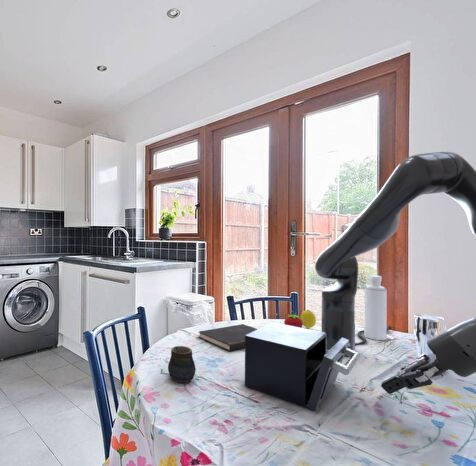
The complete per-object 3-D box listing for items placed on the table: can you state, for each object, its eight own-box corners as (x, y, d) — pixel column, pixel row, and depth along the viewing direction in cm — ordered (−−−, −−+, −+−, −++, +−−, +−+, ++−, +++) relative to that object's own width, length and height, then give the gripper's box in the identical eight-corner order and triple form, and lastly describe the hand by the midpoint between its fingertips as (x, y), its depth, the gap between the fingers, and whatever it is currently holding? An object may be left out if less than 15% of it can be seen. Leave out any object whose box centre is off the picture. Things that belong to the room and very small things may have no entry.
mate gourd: (197, 375, 86) (197, 339, 86) (193, 388, 79) (193, 348, 79) (170, 371, 89) (171, 336, 89) (165, 383, 82) (165, 345, 82)
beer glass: (406, 363, 96) (406, 314, 96) (427, 363, 96) (427, 313, 96) (430, 373, 89) (430, 320, 89) (453, 373, 89) (453, 320, 89)
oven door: (348, 391, 80) (364, 346, 78) (331, 421, 67) (349, 368, 65) (327, 380, 83) (342, 337, 81) (306, 407, 70) (323, 355, 68)
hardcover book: (198, 337, 118) (198, 331, 118) (242, 329, 129) (242, 324, 129) (230, 351, 104) (230, 344, 104) (277, 341, 114) (277, 335, 114)
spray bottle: (368, 339, 118) (369, 272, 118) (361, 333, 124) (361, 270, 124) (390, 341, 116) (390, 273, 116) (381, 335, 122) (381, 271, 122)
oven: (326, 381, 83) (326, 332, 83) (305, 408, 71) (305, 350, 71) (271, 365, 93) (271, 321, 93) (244, 386, 80) (245, 335, 81)
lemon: (318, 331, 127) (318, 311, 127) (303, 330, 128) (303, 310, 128) (312, 327, 133) (312, 308, 133) (298, 326, 134) (298, 307, 134)
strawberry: (306, 337, 120) (306, 311, 120) (295, 340, 115) (295, 313, 116) (291, 333, 125) (291, 307, 125) (280, 336, 120) (280, 310, 120)
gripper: (448, 322, 66) (373, 364, 74) (449, 337, 56) (364, 382, 65) (486, 355, 62) (403, 394, 71) (494, 376, 53) (397, 418, 61)
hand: (384, 388), depth 68 cm, fingers closed
